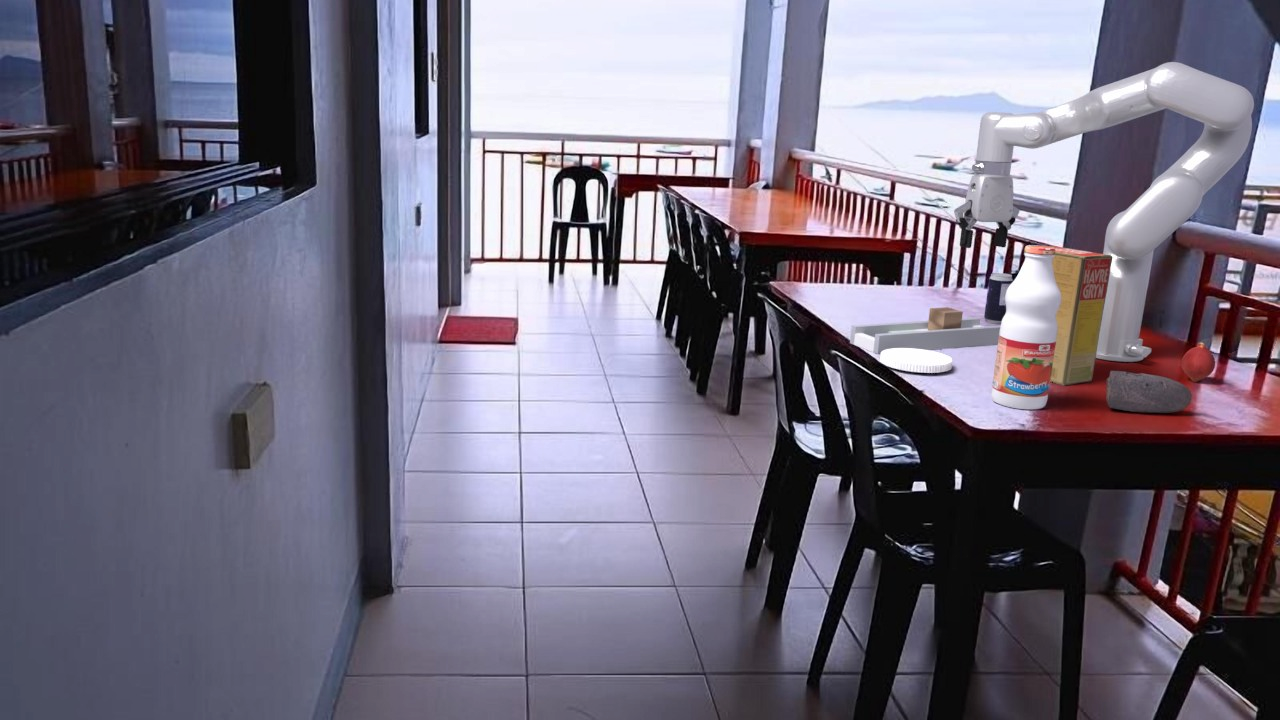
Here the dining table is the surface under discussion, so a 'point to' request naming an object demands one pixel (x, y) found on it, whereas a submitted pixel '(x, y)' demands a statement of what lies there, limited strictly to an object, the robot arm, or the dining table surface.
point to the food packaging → (1078, 312)
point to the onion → (1198, 362)
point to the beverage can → (997, 297)
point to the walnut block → (944, 318)
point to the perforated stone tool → (1146, 393)
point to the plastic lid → (916, 360)
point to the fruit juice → (1028, 333)
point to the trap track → (922, 336)
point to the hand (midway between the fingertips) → (982, 246)
